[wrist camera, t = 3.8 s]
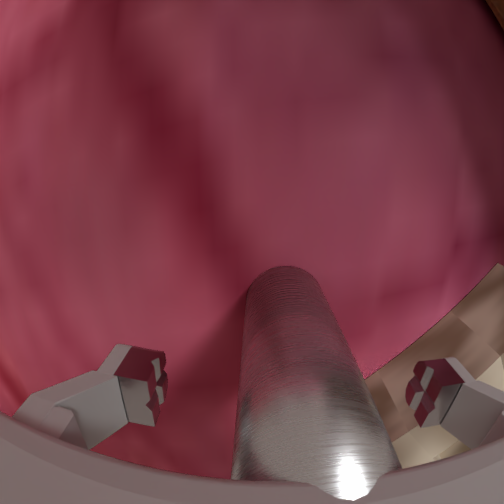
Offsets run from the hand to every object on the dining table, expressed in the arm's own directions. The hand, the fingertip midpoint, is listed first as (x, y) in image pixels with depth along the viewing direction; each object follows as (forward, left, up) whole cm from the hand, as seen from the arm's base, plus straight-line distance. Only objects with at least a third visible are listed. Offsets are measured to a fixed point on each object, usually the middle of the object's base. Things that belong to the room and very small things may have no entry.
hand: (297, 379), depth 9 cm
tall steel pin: (0, 0, -6) cm, 6 cm away
